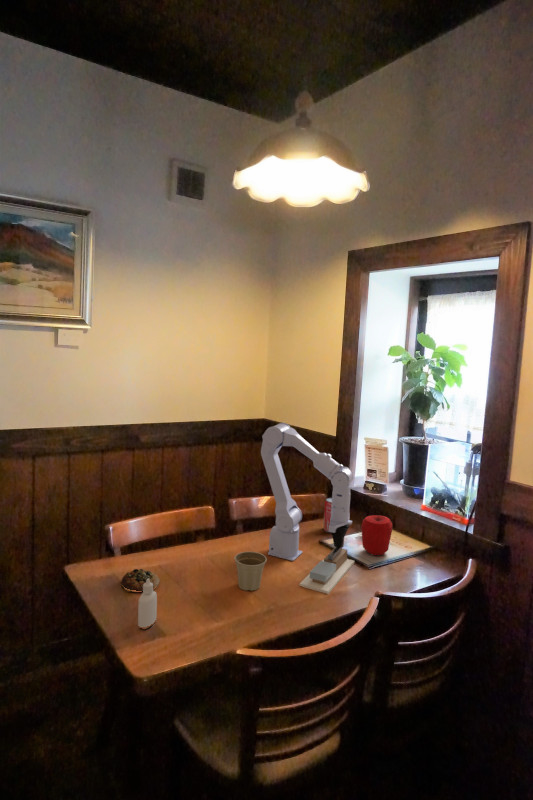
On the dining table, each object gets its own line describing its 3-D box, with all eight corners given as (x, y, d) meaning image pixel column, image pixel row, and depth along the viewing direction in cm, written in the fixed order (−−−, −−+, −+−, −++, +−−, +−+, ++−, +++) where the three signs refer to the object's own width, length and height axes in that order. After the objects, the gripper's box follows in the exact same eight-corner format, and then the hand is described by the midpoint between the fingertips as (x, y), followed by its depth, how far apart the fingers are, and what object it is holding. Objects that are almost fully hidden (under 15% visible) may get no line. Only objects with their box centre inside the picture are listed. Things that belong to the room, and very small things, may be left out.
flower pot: (269, 582, 158) (271, 554, 156) (259, 597, 149) (260, 567, 148) (240, 576, 161) (241, 549, 160) (228, 590, 152) (229, 561, 151)
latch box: (299, 586, 156) (300, 572, 156) (328, 556, 177) (329, 544, 177) (328, 594, 152) (329, 580, 152) (354, 563, 173) (355, 550, 173)
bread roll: (112, 588, 150) (114, 571, 149) (134, 577, 160) (137, 561, 160) (146, 599, 146) (148, 581, 146) (166, 586, 156) (169, 570, 156)
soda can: (322, 532, 198) (324, 501, 197) (323, 526, 205) (325, 496, 203) (339, 534, 197) (341, 503, 196) (340, 528, 204) (342, 498, 202)
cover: (309, 577, 157) (309, 571, 157) (320, 566, 165) (321, 560, 165) (325, 582, 155) (325, 575, 155) (335, 570, 163) (336, 564, 163)
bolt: (326, 558, 165) (327, 546, 165) (336, 548, 173) (337, 537, 173) (333, 560, 164) (334, 548, 164) (343, 550, 172) (344, 538, 172)
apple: (376, 544, 189) (379, 508, 188) (396, 555, 181) (400, 517, 179) (353, 549, 184) (356, 512, 182) (373, 561, 175) (376, 522, 174)
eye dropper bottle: (133, 624, 132) (133, 579, 131) (152, 617, 136) (153, 572, 135) (141, 632, 129) (142, 585, 128) (161, 624, 133) (162, 579, 131)
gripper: (345, 515, 161) (342, 557, 162) (359, 502, 173) (356, 541, 175) (323, 510, 164) (320, 552, 166) (339, 498, 177) (336, 537, 178)
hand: (337, 546), depth 171 cm, fingers closed
